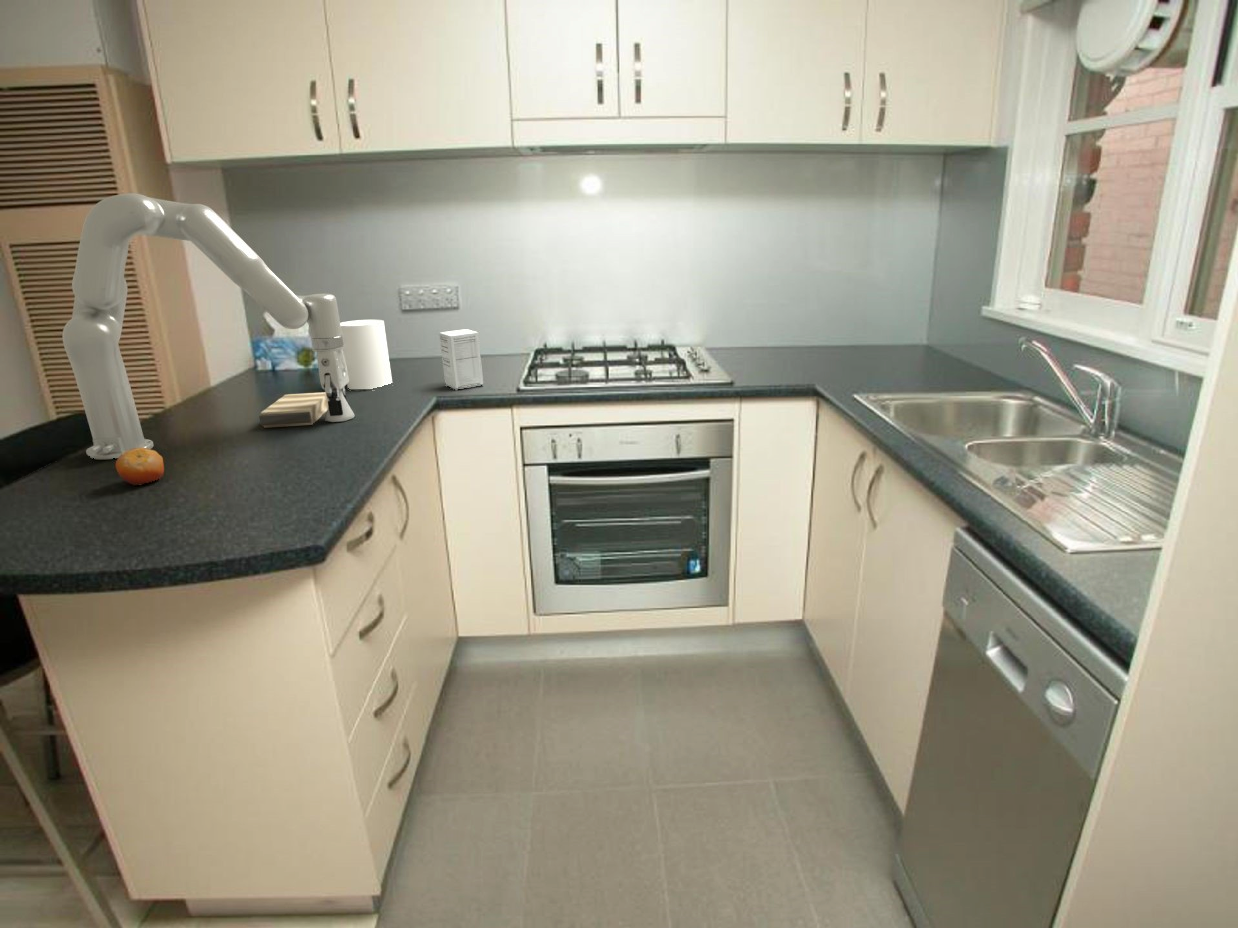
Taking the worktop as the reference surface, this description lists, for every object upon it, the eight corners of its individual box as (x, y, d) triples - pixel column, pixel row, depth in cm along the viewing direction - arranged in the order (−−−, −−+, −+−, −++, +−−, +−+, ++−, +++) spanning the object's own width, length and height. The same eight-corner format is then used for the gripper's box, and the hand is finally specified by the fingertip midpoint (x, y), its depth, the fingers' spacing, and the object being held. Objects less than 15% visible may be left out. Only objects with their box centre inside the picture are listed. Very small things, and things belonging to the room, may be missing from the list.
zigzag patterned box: (310, 426, 182) (307, 411, 180) (261, 429, 180) (258, 414, 179) (331, 405, 202) (329, 392, 201) (287, 408, 201) (285, 394, 199)
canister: (346, 392, 217) (335, 327, 211) (349, 383, 230) (339, 321, 223) (392, 388, 221) (383, 324, 214) (393, 380, 233) (384, 318, 226)
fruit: (153, 464, 151) (152, 437, 146) (170, 489, 148) (170, 462, 144) (109, 475, 145) (107, 447, 140) (126, 501, 142) (125, 473, 138)
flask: (345, 423, 184) (338, 385, 180) (320, 422, 185) (313, 385, 182) (360, 415, 190) (354, 379, 187) (335, 415, 192) (329, 378, 188)
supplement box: (472, 381, 227) (467, 328, 222) (484, 386, 220) (479, 331, 214) (444, 386, 222) (438, 332, 217) (455, 391, 215) (449, 335, 209)
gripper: (334, 348, 174) (346, 420, 180) (350, 337, 189) (360, 404, 195) (302, 350, 173) (315, 422, 179) (321, 339, 189) (332, 405, 195)
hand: (339, 412), depth 187 cm, fingers closed on flask, 4 cm apart
